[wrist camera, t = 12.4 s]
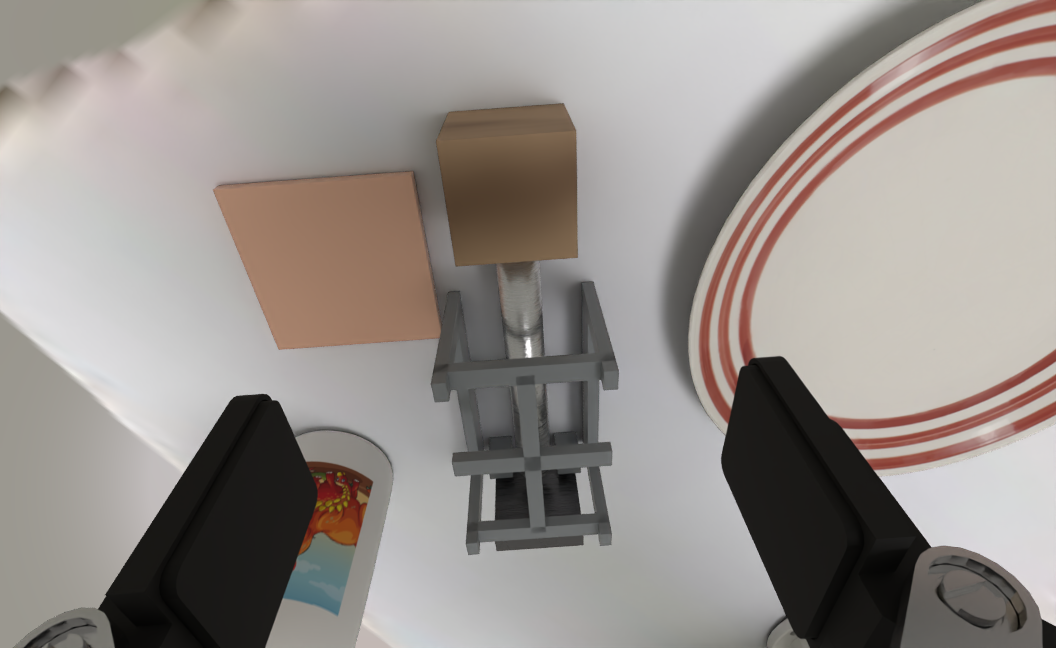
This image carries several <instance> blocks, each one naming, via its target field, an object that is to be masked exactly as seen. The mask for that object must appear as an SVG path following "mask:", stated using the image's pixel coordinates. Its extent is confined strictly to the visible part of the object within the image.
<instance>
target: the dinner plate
mask: <svg viewBox="0 0 1056 648" xmlns="http://www.w3.org/2000/svg"><path fill="white" fill-rule="evenodd" d="M688 354H689V363H690V371H691V376H692V380H693V383H694V386H695V389H696V392H697V395H698V397H699V400H700V402H701V404H702V406H703V408H704V409H705V411H706V413H707V414H708V416H709V417H710V419H711V420H712V421H713V422H714V424H715V425H716V426H717V427H718V428H719V429H720V431H721V432H722V433H723V434H724V435H725V436H726V432H727V427H728V423H729V418H730V413H731V409H732V404H733V399H734V395H735V390H736V385H737V381H738V376H739V371H740V368H741V367H742V366H748V363H749V361H750V360H751V359H752V358H759V357H773V356H782V357H784V358H785V359H786V360H787V361H788V363H789V364H790V365H791V367H792V368H793V369H794V371H795V372H796V374H797V375H798V376H799V378H800V379H801V380H802V382H803V383H804V384H805V386H806V387H807V389H808V390H809V391H810V393H811V394H812V395H813V397H814V398H815V399H816V401H817V402H818V403H819V405H820V406H821V408H822V409H823V410H824V412H825V413H826V414H827V416H828V417H829V418H830V419H832V420H834V421H836V422H837V423H838V424H839V425H840V426H841V427H842V428H843V430H844V431H845V432H846V434H847V435H848V436H849V438H850V439H851V440H852V442H853V443H854V444H855V446H856V447H857V448H858V450H859V451H860V452H861V454H862V455H863V456H864V458H865V459H866V460H867V462H868V463H869V464H870V466H871V467H872V468H873V470H874V471H875V472H876V474H877V475H878V476H879V477H882V476H892V475H899V474H906V473H912V472H918V471H923V470H927V469H932V468H937V467H941V466H945V465H948V464H952V463H956V462H960V461H963V460H967V459H970V458H973V457H976V456H979V455H982V454H985V453H987V452H990V451H993V450H996V449H999V448H1002V447H1004V446H1007V445H1009V444H1012V443H1014V442H1016V441H1019V440H1021V439H1024V438H1026V437H1028V436H1031V435H1033V434H1035V433H1037V432H1039V431H1042V430H1044V429H1046V428H1048V427H1050V426H1052V425H1054V424H1056V0H983V1H981V2H979V3H977V4H975V5H972V6H970V7H968V8H966V9H964V10H962V11H960V12H958V13H956V14H954V15H952V16H949V17H947V18H946V19H944V20H942V21H940V22H938V23H937V24H935V25H933V26H931V27H930V28H928V29H926V30H924V31H923V32H921V33H919V34H918V35H916V36H914V37H913V38H911V39H909V40H908V41H906V42H904V43H903V44H901V45H899V46H898V47H897V48H895V49H894V50H892V51H891V52H889V53H888V54H886V55H885V56H883V57H882V58H881V59H879V60H878V61H876V62H875V63H873V64H872V65H870V66H869V67H868V68H866V69H865V70H863V71H862V72H861V73H860V74H858V75H857V76H856V77H854V78H853V79H852V80H851V81H849V82H848V83H847V84H846V85H844V86H843V87H842V88H841V89H840V90H838V91H837V92H836V93H835V94H834V95H832V96H831V97H830V98H829V99H828V100H827V101H826V102H824V103H823V104H822V105H821V106H820V107H819V108H818V109H817V110H816V111H815V112H814V113H813V114H812V115H811V116H810V117H809V118H808V119H806V120H805V121H804V122H803V123H802V124H801V125H800V126H799V127H798V128H797V129H796V130H795V131H794V132H793V133H792V134H791V135H790V136H789V137H788V139H787V140H786V141H785V142H784V143H783V144H782V145H781V146H780V147H779V148H778V150H777V151H776V152H775V153H774V154H773V155H772V157H771V158H770V159H769V160H768V161H767V163H766V164H765V165H764V166H763V168H762V169H761V170H760V171H759V173H758V174H757V175H756V176H755V178H754V179H753V180H752V182H751V183H750V184H749V186H748V187H747V189H746V190H745V191H744V193H743V194H742V196H741V197H740V199H739V201H738V202H737V204H736V205H735V207H734V209H733V210H732V212H731V213H730V215H729V216H728V218H727V220H726V221H725V223H724V225H723V227H722V229H721V231H720V233H719V235H718V237H717V239H716V241H715V242H714V244H713V246H712V248H711V250H710V253H709V255H708V258H707V260H706V263H705V265H704V267H703V270H702V272H701V275H700V278H699V282H698V285H697V288H696V292H695V295H694V299H693V304H692V309H691V314H690V320H689V329H688Z"/></svg>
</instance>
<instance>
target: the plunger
mask: <svg viewBox="0 0 1056 648" xmlns="http://www.w3.org/2000/svg"><path fill="white" fill-rule="evenodd" d="M496 268H497V277H498V286H499V296H500V305H501V314H502V323H503V332H504V341H505V351H506V359H518V358H532V357H545V350H544V333H543V315H542V298H541V280H540V263H539V260H538V261H524V262H511V263H497V264H496ZM509 387H510V396H511V406H512V415H513V424H514V433H515V442H516V448H523V445H522V435H521V425H520V415H519V405H518V395H517V386H509ZM535 389H536V403H537V417H538V430H539V444H540V447H545V446H550V438H549V421H548V403H547V385H546V384H535ZM541 472H542V485H543V499H544V513H545V517H552V516H566V515H581V511H580V504H579V497H578V490H577V482H576V475H575V473H568V474H558V469H553V470H541ZM523 518H530V516H529V506H528V496H527V486H526V476H525V471H524V472H513V477H511V478H496V500H495V520H508V519H523ZM495 544H496V550H497V551H505V550H519V549H534V548H548V547H563V546H578V545H583V535H580V536H565V537H551V538H536V539H522V540H507V541H495Z"/></svg>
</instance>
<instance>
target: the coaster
mask: <svg viewBox="0 0 1056 648" xmlns="http://www.w3.org/2000/svg"><path fill="white" fill-rule="evenodd" d="M213 191H214V194H215V196H216V199H217V201H218V203H219V206H220V208H221V211H222V213H223V216H224V218H225V220H226V223H227V225H228V228H229V230H230V233H231V235H232V237H233V240H234V242H235V245H236V247H237V250H238V252H239V254H240V257H241V259H242V262H243V264H244V267H245V269H246V271H247V274H248V276H249V279H250V281H251V284H252V286H253V288H254V291H255V293H256V296H257V298H258V301H259V303H260V305H261V308H262V310H263V313H264V315H265V318H266V320H267V322H268V325H269V327H270V330H271V332H272V335H273V337H274V339H275V342H276V344H277V347H278V349H279V350H281V349H295V348H309V347H323V346H337V345H351V344H365V343H379V342H393V341H407V340H421V339H435V338H440V333H441V328H442V322H441V317H440V311H439V306H438V301H437V295H436V290H435V285H434V279H433V274H432V269H431V263H430V258H429V253H428V247H427V242H426V237H425V231H424V226H423V221H422V215H421V210H420V205H419V199H418V194H417V189H416V183H415V178H414V173H413V171H408V172H395V173H381V174H367V175H354V176H340V177H327V178H313V179H300V180H286V181H273V182H259V183H246V184H232V185H219V186H218V187H216V188H215V189H213Z"/></svg>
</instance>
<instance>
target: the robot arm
mask: <svg viewBox="0 0 1056 648" xmlns="http://www.w3.org/2000/svg"><path fill="white" fill-rule="evenodd" d="M721 464H722V469H723V473H724V475H725V478H726V480H727V482H728V484H729V487H730V489H731V491H732V494H733V496H734V498H735V500H736V503H737V505H738V507H739V509H740V512H741V514H742V516H743V518H744V521H745V523H746V525H747V528H748V530H749V532H750V534H751V537H752V539H753V541H754V543H755V546H756V548H757V550H758V553H759V555H760V557H761V559H762V562H763V564H764V566H765V568H766V571H767V573H768V575H769V577H770V580H771V582H772V584H773V587H774V589H775V591H776V593H777V596H778V598H779V600H780V602H781V605H782V607H783V609H784V612H785V614H786V616H787V619H785V620H784V621H783V622H781V623H780V624H779V625H778V626H777V627H776V628H775V629H774V630H773V631H772V632H771V634H770V636H769V638H768V641H767V648H1056V626H1054V625H1052V624H1050V623H1048V622H1046V621H1044V620H1042V619H1041V616H1040V612H1039V608H1038V606H1037V604H1036V603H1035V601H1034V599H1033V598H1032V596H1031V594H1030V593H1029V591H1028V590H1027V589H1026V588H1025V587H1024V586H1023V585H1022V584H1021V583H1020V582H1019V581H1018V580H1017V579H1016V578H1015V577H1014V576H1013V575H1012V574H1010V573H1009V572H1008V571H1006V570H1005V569H1004V568H1002V567H1001V566H1000V565H998V564H997V563H995V562H993V561H991V560H990V559H988V558H986V557H984V556H982V555H980V554H978V553H975V552H972V551H969V550H966V549H963V548H959V547H951V546H939V547H931V546H930V545H929V543H928V542H927V541H926V539H925V538H924V537H923V535H922V534H921V533H920V531H919V530H918V529H917V527H916V526H915V525H914V523H913V522H912V521H911V519H910V518H909V517H908V515H907V514H906V513H905V511H904V510H903V509H902V507H901V506H900V505H899V503H898V502H897V501H896V499H895V498H894V497H893V495H892V494H891V493H890V491H889V490H888V489H887V487H886V486H885V485H884V483H883V482H882V480H881V479H880V478H879V476H878V475H877V474H876V472H875V471H874V470H873V468H872V467H871V466H870V464H869V463H868V462H867V460H866V459H865V458H864V456H863V455H862V454H861V452H860V451H859V450H858V448H857V447H856V446H855V444H854V443H853V442H852V440H851V439H850V438H849V436H848V435H847V434H846V432H845V431H844V430H843V428H842V427H841V426H840V425H839V424H838V423H837V422H836V421H834V420H832V419H830V418H829V417H828V416H827V414H826V413H825V412H824V410H823V409H822V408H821V406H820V405H819V403H818V402H817V401H816V399H815V398H814V397H813V395H812V394H811V393H810V391H809V390H808V389H807V387H806V386H805V384H804V383H803V382H802V380H801V379H800V378H799V376H798V375H797V374H796V372H795V371H794V369H793V368H792V367H791V365H790V364H789V363H788V361H787V360H786V359H785V358H784V357H782V356H773V357H759V358H752V359H751V360H750V361H749V363H748V366H742V367H741V368H740V371H739V376H738V381H737V385H736V390H735V395H734V399H733V404H732V409H731V413H730V418H729V423H728V427H727V432H726V437H725V442H724V446H723V451H722V456H721ZM317 498H318V490H317V486H316V483H315V481H314V479H313V476H312V474H311V472H310V470H309V467H308V465H307V463H306V461H305V458H304V456H303V454H302V452H301V450H300V447H299V445H298V443H297V441H296V438H295V436H294V434H293V432H292V429H291V427H290V425H289V423H288V421H287V418H286V416H285V414H284V412H283V409H282V407H281V405H280V403H279V402H278V401H275V400H273V401H272V399H271V398H270V396H268V395H267V394H257V395H243V396H236V397H234V398H233V399H232V400H231V401H230V402H229V404H228V405H227V407H226V408H225V410H224V412H223V413H222V415H221V416H220V418H219V419H218V421H217V422H216V424H215V425H214V427H213V429H212V430H211V432H210V433H209V435H208V436H207V438H206V439H205V441H204V442H203V444H202V446H201V447H200V449H199V450H198V452H197V453H196V455H195V456H194V458H193V460H192V461H191V463H190V464H189V466H188V467H187V469H186V470H185V472H184V473H183V475H182V477H181V478H180V480H179V481H178V483H177V484H176V486H175V488H174V489H173V491H172V492H171V494H170V495H169V497H168V499H167V500H166V501H165V503H164V504H163V506H162V508H161V509H160V511H159V512H158V514H157V515H156V517H155V518H154V520H153V521H152V523H151V525H150V526H149V528H148V529H147V531H146V533H145V534H144V536H143V537H142V539H141V540H140V542H139V543H138V545H137V546H136V548H135V549H134V551H133V552H132V554H131V556H130V557H129V559H128V560H127V562H126V563H125V565H124V566H123V568H122V570H121V571H120V573H119V574H118V576H117V577H116V579H115V580H114V582H113V583H112V585H111V587H110V588H109V590H108V591H107V593H106V594H105V595H106V597H105V599H104V601H103V602H102V604H101V605H100V607H99V608H98V609H96V608H78V609H74V610H71V611H67V612H64V613H62V614H60V615H58V616H56V617H54V618H52V619H49V620H47V621H46V622H44V623H43V624H41V625H40V626H39V627H37V628H36V629H34V630H33V631H31V632H30V633H28V634H27V635H26V636H25V637H24V638H23V639H22V640H21V641H20V642H19V643H18V644H17V645H15V646H14V647H13V648H265V647H266V644H267V641H268V638H269V636H270V633H271V630H272V627H273V624H274V622H275V619H276V616H277V613H278V610H279V608H280V605H281V602H282V599H283V596H284V593H285V591H286V588H287V585H288V582H289V579H290V577H291V574H292V571H293V568H294V565H295V563H296V560H297V557H298V554H299V551H300V549H301V546H302V543H303V540H304V537H305V535H306V532H307V529H308V526H309V523H310V521H311V518H312V515H313V512H314V509H315V506H316V503H317Z"/></svg>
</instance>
